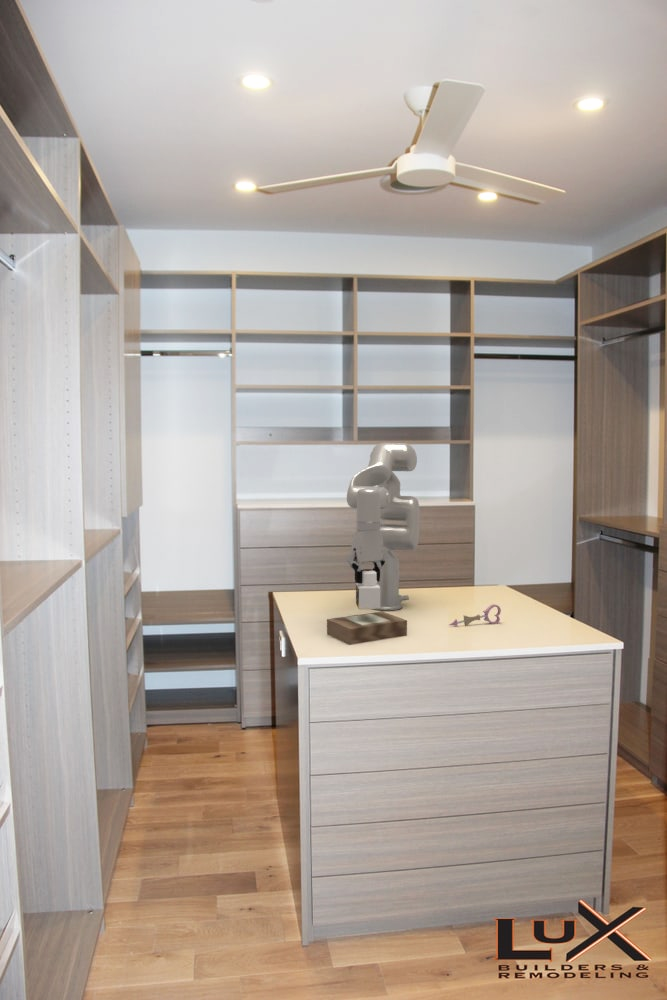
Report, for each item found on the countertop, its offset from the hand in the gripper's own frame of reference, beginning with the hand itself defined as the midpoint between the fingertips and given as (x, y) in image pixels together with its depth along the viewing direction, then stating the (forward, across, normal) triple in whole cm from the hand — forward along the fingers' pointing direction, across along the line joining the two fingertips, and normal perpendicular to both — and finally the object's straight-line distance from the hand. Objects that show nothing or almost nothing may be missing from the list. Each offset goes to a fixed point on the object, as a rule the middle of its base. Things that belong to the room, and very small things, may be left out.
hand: (367, 581), depth 240 cm
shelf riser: (+18, 0, 0) cm, 18 cm away
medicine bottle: (+8, 0, 0) cm, 8 cm away
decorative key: (+18, -40, +8) cm, 44 cm away
